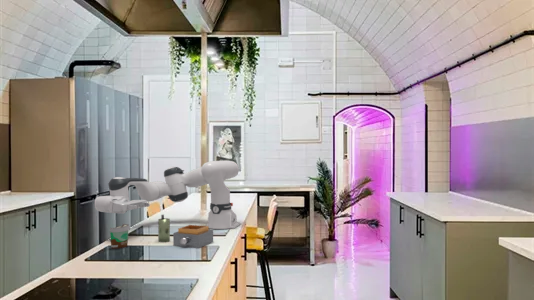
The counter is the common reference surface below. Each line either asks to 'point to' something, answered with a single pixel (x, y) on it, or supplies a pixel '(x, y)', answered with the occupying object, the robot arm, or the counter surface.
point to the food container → (119, 236)
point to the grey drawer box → (193, 236)
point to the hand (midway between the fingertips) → (143, 206)
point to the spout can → (163, 229)
